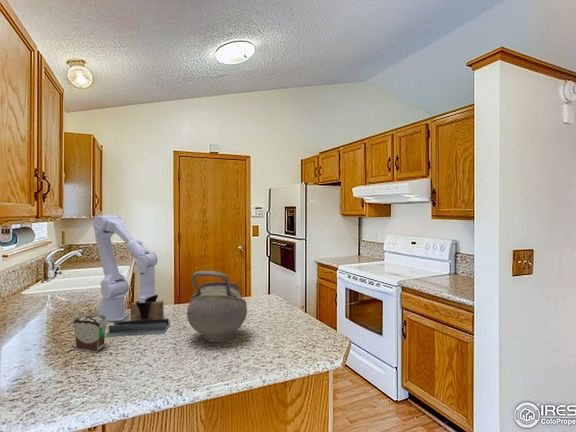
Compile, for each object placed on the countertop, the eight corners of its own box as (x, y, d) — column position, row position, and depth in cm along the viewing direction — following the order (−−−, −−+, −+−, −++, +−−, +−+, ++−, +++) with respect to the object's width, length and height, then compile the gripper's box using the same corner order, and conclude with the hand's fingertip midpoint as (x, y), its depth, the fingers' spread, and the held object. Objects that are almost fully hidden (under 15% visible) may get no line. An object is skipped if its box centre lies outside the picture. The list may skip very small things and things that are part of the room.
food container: (117, 345, 110) (116, 315, 110) (101, 352, 104) (100, 321, 104) (89, 341, 114) (89, 312, 114) (72, 348, 108) (72, 317, 108)
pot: (218, 355, 101) (217, 274, 101) (174, 342, 112) (173, 269, 112) (258, 334, 118) (258, 265, 118) (217, 324, 129) (216, 261, 129)
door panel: (130, 324, 132) (130, 304, 132) (133, 321, 134) (133, 302, 134) (162, 322, 133) (161, 302, 133) (163, 320, 136) (163, 301, 136)
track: (106, 336, 118) (106, 328, 118) (117, 327, 128) (117, 319, 128) (164, 333, 120) (164, 325, 120) (170, 324, 130) (170, 316, 130)
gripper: (152, 286, 127) (152, 321, 127) (161, 279, 142) (162, 310, 142) (133, 286, 126) (133, 322, 126) (144, 279, 141) (145, 311, 141)
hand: (147, 315), depth 134 cm, fingers open, 7 cm apart
